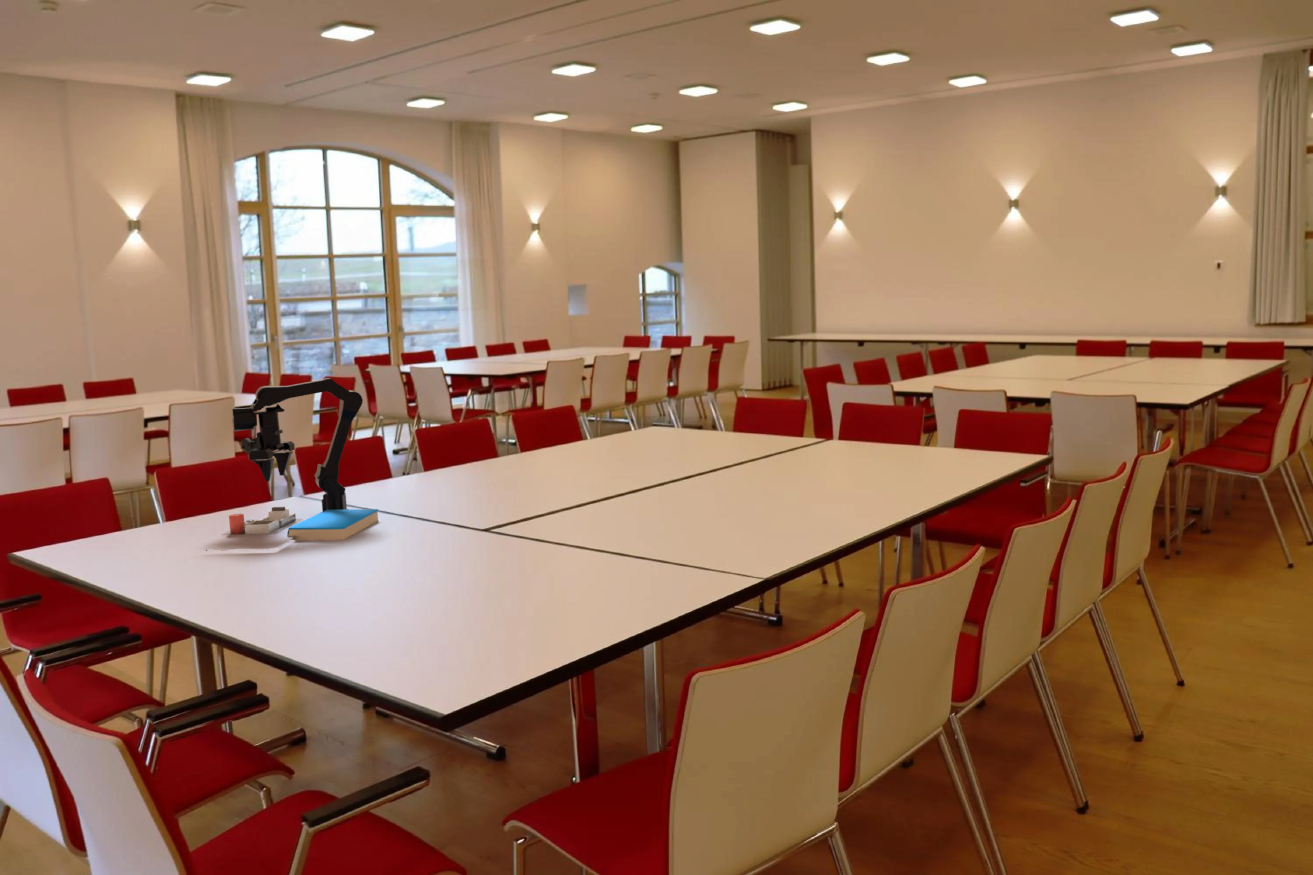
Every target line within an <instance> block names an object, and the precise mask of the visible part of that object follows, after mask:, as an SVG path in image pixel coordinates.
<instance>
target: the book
mask: <svg viewBox="0 0 1313 875" xmlns="http://www.w3.org/2000/svg"><path fill="white" fill-rule="evenodd" d="M378 511H379V509H378V508H373V509H372V508H369V509H368V508H367V509H363V508H362V509H360V508H359V509H353V508H352V509H349V510H325V511H321V512H319V513H317V514H315V515H313V516H311V517H308V518H306V519H303V520H301V522H300V521H299V522H297V523H295V524H293V525H291V526H289V527H288V529H287V537H289V536H291V537H292V538H290V539H289V540H290V541H309V540H310V541H311V540H313V541H315V540H316V541H318V540H320V541H323V540H324V541H326V540H328V541H329V540H332V541H333V540H334V541H335V540H339V541H341V540H342V541H343V540H345V539H347V538H349V537H351V536H352V535H353V536H354V535H355V534H356V533H358V532H360V531H362V530H364V529H365V528H367V527H369V526H371V525H373V524H375V523H376V522H378V521H379V516H378ZM293 536H294V537H293Z"/></svg>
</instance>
